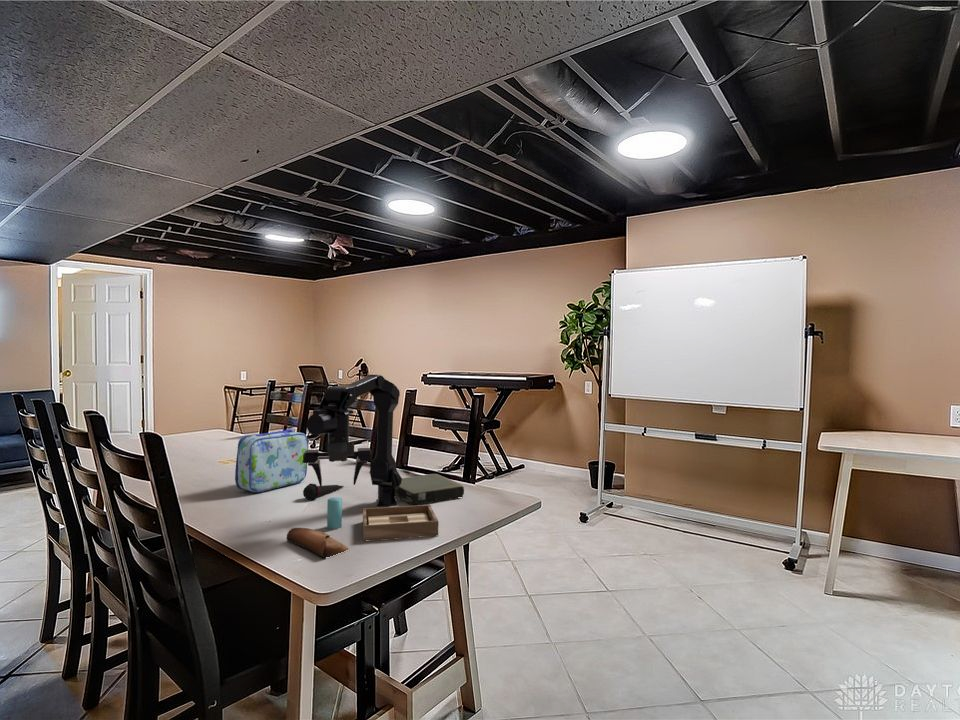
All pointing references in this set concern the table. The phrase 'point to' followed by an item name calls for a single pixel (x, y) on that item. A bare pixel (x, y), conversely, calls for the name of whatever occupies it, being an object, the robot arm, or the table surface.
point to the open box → (399, 522)
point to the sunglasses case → (316, 541)
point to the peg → (334, 513)
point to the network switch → (428, 489)
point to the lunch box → (270, 460)
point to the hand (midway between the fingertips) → (337, 485)
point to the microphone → (318, 490)
